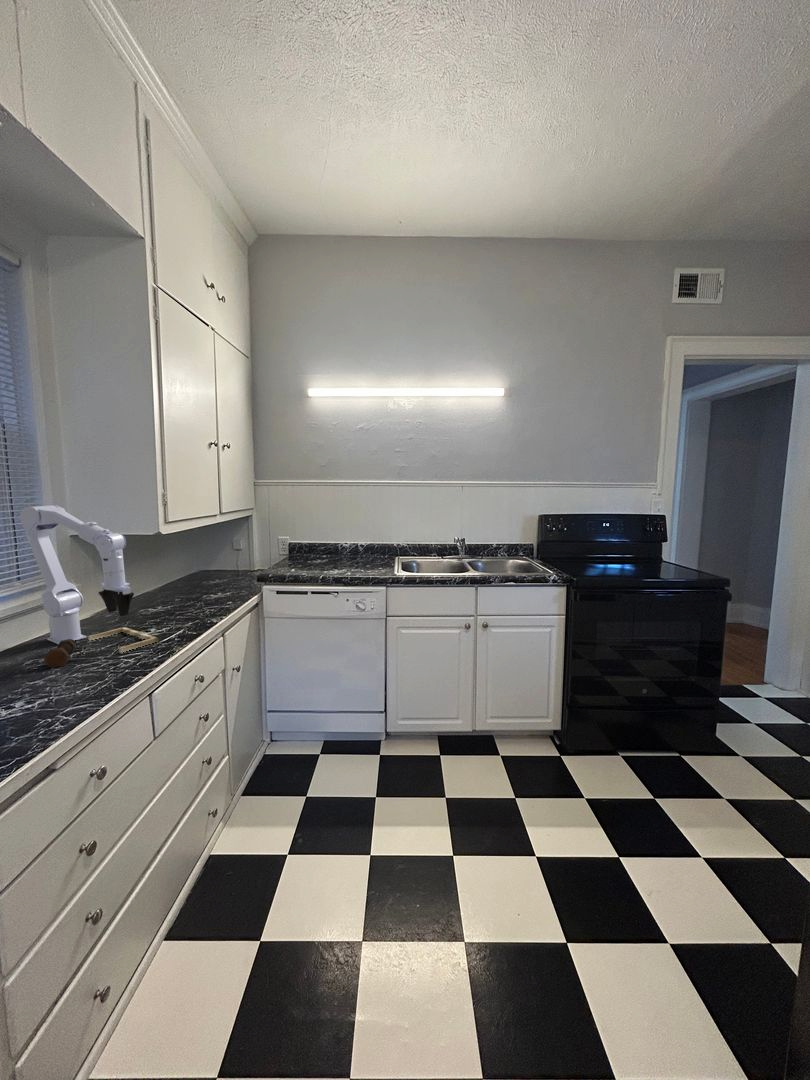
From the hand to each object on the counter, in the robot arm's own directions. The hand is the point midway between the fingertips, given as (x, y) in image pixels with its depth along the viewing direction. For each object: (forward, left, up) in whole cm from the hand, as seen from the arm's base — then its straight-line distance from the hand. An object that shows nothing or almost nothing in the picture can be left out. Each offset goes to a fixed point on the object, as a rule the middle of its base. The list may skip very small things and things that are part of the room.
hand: (118, 613), depth 150 cm
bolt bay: (0, 0, -9) cm, 9 cm away
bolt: (-1, -15, -10) cm, 18 cm away
